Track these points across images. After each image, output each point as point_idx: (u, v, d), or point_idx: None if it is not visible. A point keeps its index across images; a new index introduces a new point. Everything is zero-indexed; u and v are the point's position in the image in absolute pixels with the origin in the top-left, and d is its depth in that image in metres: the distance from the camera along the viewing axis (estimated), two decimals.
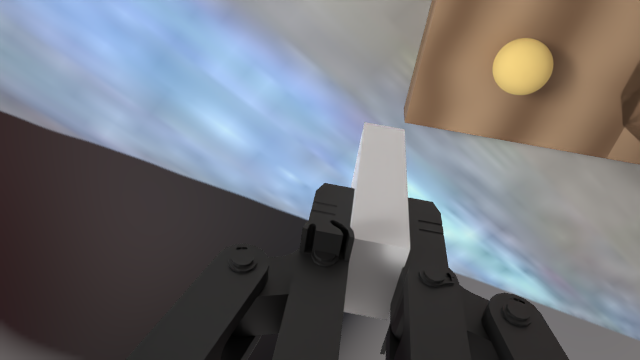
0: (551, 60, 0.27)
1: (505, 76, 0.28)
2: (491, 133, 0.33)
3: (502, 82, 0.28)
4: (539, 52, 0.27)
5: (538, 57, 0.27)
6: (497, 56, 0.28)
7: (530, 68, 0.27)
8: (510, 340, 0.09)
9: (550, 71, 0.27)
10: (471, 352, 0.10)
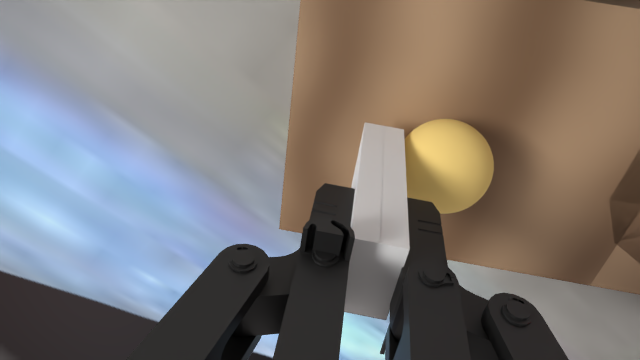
0: (488, 162, 0.15)
1: (412, 189, 0.16)
2: None
3: (408, 195, 0.16)
4: (466, 151, 0.15)
5: (464, 160, 0.15)
6: None
7: (451, 180, 0.15)
8: (509, 340, 0.09)
9: (488, 180, 0.16)
10: (470, 352, 0.10)
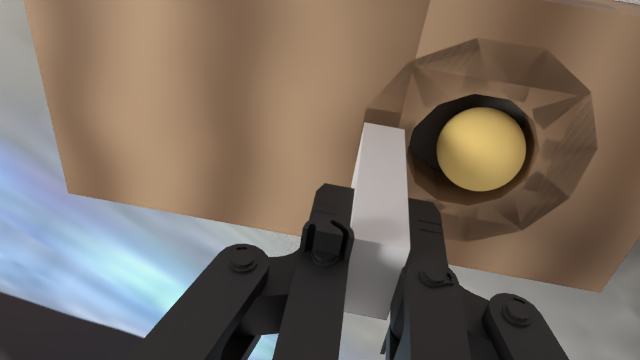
0: None
1: (516, 170, 0.18)
2: (193, 211, 0.22)
3: (507, 180, 0.18)
4: (511, 118, 0.18)
5: None
6: (490, 153, 0.17)
7: None
8: (510, 340, 0.09)
9: None
10: (471, 352, 0.10)
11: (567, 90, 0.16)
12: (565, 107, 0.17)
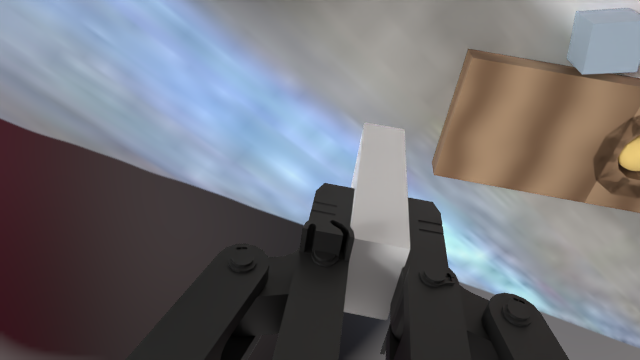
0: None
1: None
2: (498, 183, 0.44)
3: None
4: None
5: None
6: (636, 149, 0.40)
7: None
8: (510, 340, 0.09)
9: None
10: (471, 352, 0.10)
11: None
12: None
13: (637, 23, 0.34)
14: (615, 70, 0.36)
